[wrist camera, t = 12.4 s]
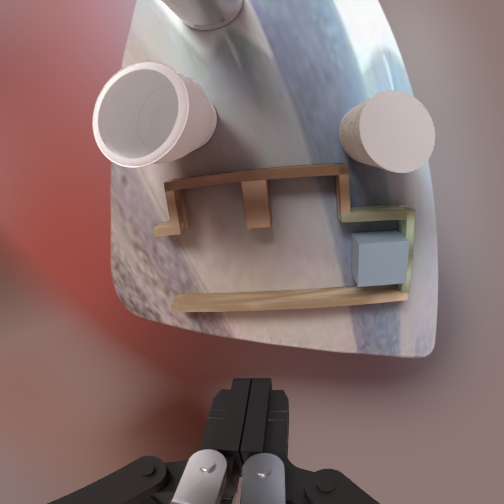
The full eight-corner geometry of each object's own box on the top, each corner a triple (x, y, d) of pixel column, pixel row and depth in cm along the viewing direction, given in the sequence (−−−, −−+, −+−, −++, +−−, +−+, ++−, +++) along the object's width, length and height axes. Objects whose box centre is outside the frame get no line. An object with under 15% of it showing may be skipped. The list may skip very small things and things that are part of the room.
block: (351, 232, 40) (359, 243, 35) (397, 229, 39) (409, 240, 34) (351, 271, 42) (357, 287, 37) (395, 268, 41) (405, 283, 36)
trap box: (156, 182, 41) (145, 185, 37) (404, 162, 35) (414, 164, 32) (179, 300, 47) (172, 311, 44) (400, 289, 42) (407, 299, 38)
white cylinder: (331, 110, 34) (349, 96, 23) (387, 101, 33) (423, 87, 22) (346, 169, 37) (370, 179, 26) (401, 159, 35) (441, 166, 24)
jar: (193, 72, 35) (145, 40, 21) (241, 123, 37) (212, 111, 23) (140, 122, 38) (75, 119, 24) (183, 174, 40) (130, 191, 26)
